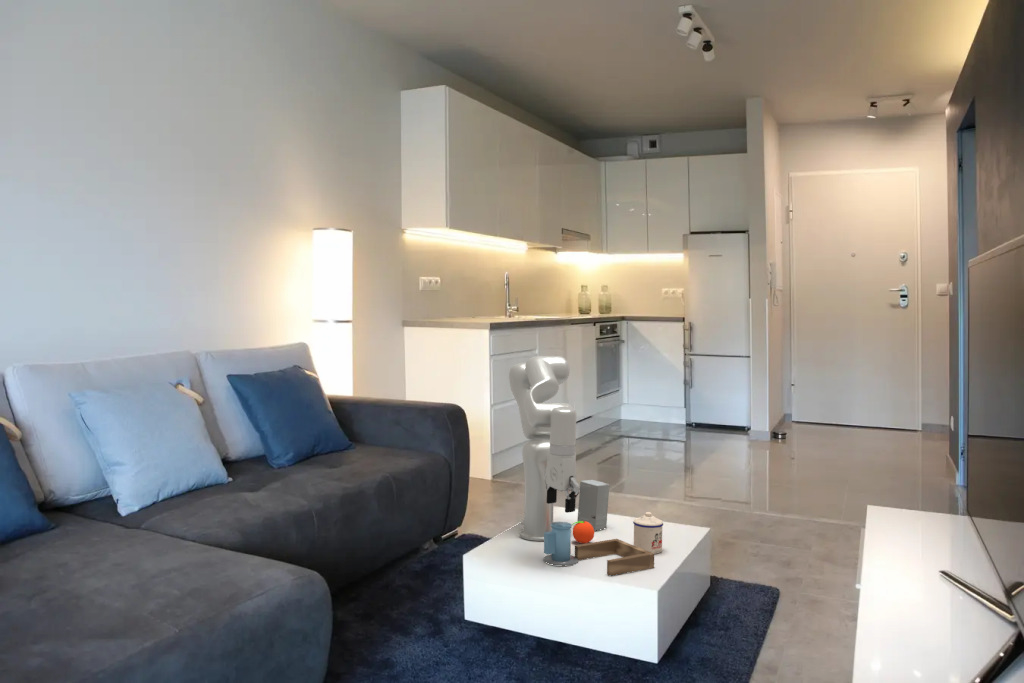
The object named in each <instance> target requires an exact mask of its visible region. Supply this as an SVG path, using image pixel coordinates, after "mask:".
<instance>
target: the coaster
mask: <svg viewBox="0 0 1024 683" xmlns="http://www.w3.org/2000/svg"><path fill="white" fill-rule="evenodd" d="M544 561H545V562H547V563H549V564H553V565H562V566H561V567H566V566H565V565H572V566H574V565H573V564H575V565H577V564H578V562H579V560H578V558H576V557H575V555H572V554H571V556H570V560H569V561H565V562H558V561H554V560H552V559H551V554H549V555H547V554H546V555H545V556H543V562H544ZM545 562H544V563H545ZM547 563H546V564H547ZM576 563H577V564H576ZM549 564H548V565H549ZM553 565H552V566H553Z"/></svg>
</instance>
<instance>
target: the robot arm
mask: <svg viewBox="0 0 1024 683" xmlns="http://www.w3.org/2000/svg"><path fill="white" fill-rule="evenodd" d="M569 376H570V365H569V362H568V360H567V359H566V358H565V357H564V356H560V355H535V356H532V357H530V358H528V360H526V362H518V363H516V364H513V365H512V366H511V367H510V369H509V371H508V380H509V387H510V390H511V392H512V396H513V397H514V400H515V401H516V403H517V406H518V411H519V416H520V417H519V418H520V422H521V423H520V424H521V428H522V433H523V436H524V437H525V438H526V439H528V441H526V442H525V443H524V444H523V446H522V448H521V449H522V450H521V456H522V461H523V463H522V464H523V471H524V473H523V474H524V504H523V505H524V507H523V508H524V510H523V511H524V512H523V516H524V517H523V519H521V520H520V524H521V525H523V528H522V529H520V530H519V532H518V536H519V538H522V539H523V540H528V541H535V542H544V532H550V531H552V527H551V523H553V522H554V504H555V503H557V498H558V497H557V496H558V491H559V492H564V493H565V496H566V498H565V500H564V503H565V505H564V512H565V513H567V514H569V513H574V512H575V511H576V500H577V498H578V495H579V494H580V484H579V483H578V481H577V464H576V461H577V460H576V459H577V453H576V442H577V441H576V438H577V437H576V436H577V411H576V410H575V408H574V407H573V406H572V405H571V404H570V403H567V402H546V401H548V400H551V399H552V398H554V397H555V396H556V395H557V394H558V393H559V390H560V386H559V385H561V384H563V383H565V382H566V381H567V380H568V379H569Z"/></svg>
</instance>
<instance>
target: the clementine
mask: <svg viewBox="0 0 1024 683" xmlns="http://www.w3.org/2000/svg"><path fill="white" fill-rule="evenodd" d="M571 524H572V526H573V527H572V536H573V538H574V540H575V541H576V542H577V543H579V544H587V543H591V541H592V540H593V538H594V537H595V531H594V528H593V526H592V525H591V524H590V523H589V522H586V521H578V522H577V521H575V522H574V523H571Z"/></svg>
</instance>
